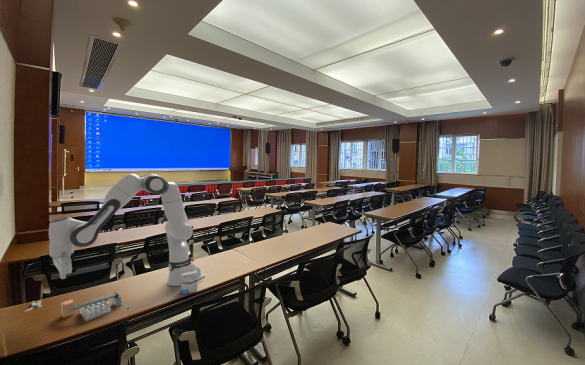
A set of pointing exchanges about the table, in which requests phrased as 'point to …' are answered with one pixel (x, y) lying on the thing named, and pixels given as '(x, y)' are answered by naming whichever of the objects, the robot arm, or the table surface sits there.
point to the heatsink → (98, 308)
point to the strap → (93, 301)
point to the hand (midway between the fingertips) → (63, 277)
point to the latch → (67, 308)
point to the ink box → (188, 279)
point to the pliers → (35, 305)
